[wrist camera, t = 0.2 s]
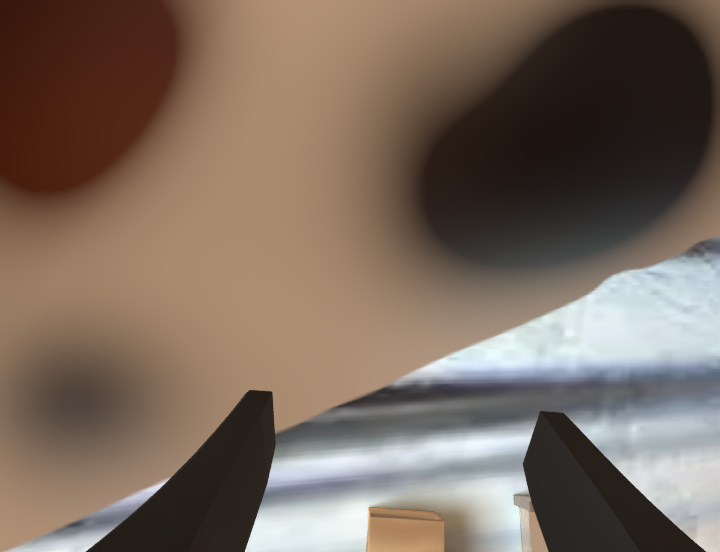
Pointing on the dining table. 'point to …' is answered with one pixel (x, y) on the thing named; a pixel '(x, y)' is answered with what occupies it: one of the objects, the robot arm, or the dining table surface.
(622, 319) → the dining table surface
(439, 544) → the wooden box with dial
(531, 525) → the rail
